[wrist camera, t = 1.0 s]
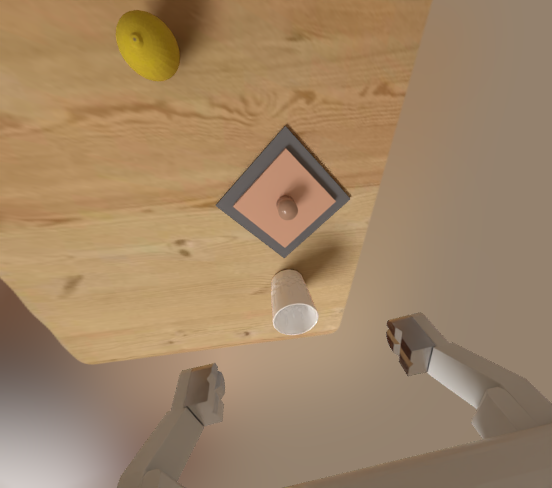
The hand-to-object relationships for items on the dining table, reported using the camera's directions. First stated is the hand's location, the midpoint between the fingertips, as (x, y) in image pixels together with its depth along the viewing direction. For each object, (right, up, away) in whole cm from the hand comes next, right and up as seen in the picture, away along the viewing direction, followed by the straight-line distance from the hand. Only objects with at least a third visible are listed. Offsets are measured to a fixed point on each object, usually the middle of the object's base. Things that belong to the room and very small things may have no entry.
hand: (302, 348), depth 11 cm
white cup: (+1, -3, +37) cm, 38 cm away
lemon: (-15, +27, +17) cm, 36 cm away
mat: (0, +12, +28) cm, 30 cm away
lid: (0, +12, +28) cm, 30 cm away
